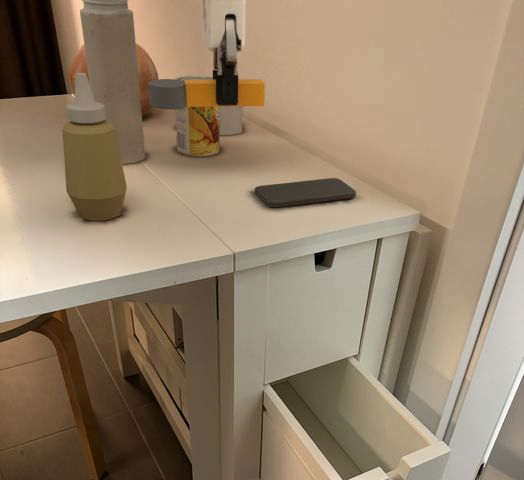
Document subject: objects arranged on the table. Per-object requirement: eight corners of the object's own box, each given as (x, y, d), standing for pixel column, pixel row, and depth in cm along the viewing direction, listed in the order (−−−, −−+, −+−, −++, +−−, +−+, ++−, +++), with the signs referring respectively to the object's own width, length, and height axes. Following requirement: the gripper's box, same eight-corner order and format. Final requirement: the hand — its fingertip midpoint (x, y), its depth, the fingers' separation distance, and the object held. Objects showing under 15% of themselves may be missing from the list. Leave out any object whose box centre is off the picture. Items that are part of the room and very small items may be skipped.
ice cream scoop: (150, 110, 79) (148, 85, 77) (148, 100, 83) (147, 77, 81) (266, 108, 82) (267, 85, 80) (258, 99, 86) (259, 77, 84)
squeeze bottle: (67, 205, 80) (44, 68, 69) (124, 200, 82) (109, 66, 72) (73, 228, 74) (48, 81, 63) (134, 221, 77) (120, 79, 66)
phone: (252, 186, 87) (337, 177, 92) (252, 191, 87) (336, 182, 92) (270, 203, 81) (359, 193, 86) (269, 209, 82) (358, 198, 87)
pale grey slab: (244, 134, 113) (245, 88, 108) (180, 135, 111) (177, 88, 105) (236, 121, 121) (237, 77, 116) (176, 121, 119) (174, 77, 114)
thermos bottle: (89, 158, 97) (61, -36, 80) (118, 147, 103) (97, -36, 86) (126, 167, 94) (105, -33, 78) (154, 154, 100) (139, -33, 83)
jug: (70, 107, 124) (53, 3, 113) (149, 103, 130) (141, 3, 119) (82, 129, 111) (65, 13, 99) (170, 123, 117) (163, 13, 105)
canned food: (228, 151, 104) (228, 81, 96) (194, 159, 99) (192, 86, 92) (202, 141, 108) (200, 73, 101) (169, 148, 104) (164, 78, 97)
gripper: (190, -52, 78) (194, 90, 88) (203, -49, 65) (206, 116, 76) (242, -50, 79) (240, 89, 90) (265, -47, 66) (260, 115, 77)
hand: (225, 100), depth 83 cm, fingers closed on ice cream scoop, 2 cm apart
